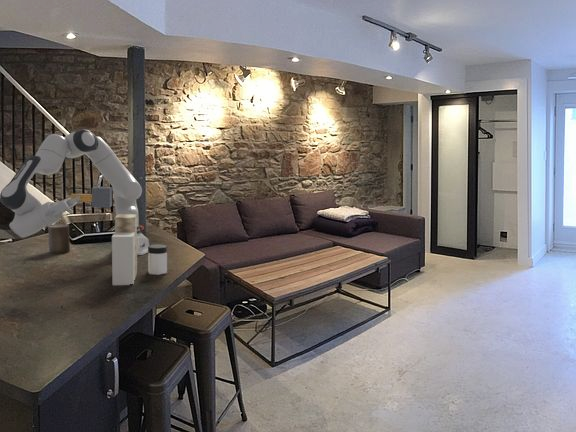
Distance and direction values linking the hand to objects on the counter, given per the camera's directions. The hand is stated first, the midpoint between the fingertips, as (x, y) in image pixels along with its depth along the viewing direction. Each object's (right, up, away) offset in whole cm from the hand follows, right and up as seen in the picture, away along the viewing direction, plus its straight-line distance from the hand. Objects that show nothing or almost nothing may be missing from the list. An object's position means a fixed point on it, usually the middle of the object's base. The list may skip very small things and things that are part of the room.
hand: (81, 196), depth 200 cm
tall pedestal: (+16, -34, +9) cm, 38 cm away
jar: (+28, -34, +15) cm, 46 cm away
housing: (+4, -4, +1) cm, 6 cm away
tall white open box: (+18, -35, -2) cm, 40 cm away
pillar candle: (-31, -27, +46) cm, 62 cm away
